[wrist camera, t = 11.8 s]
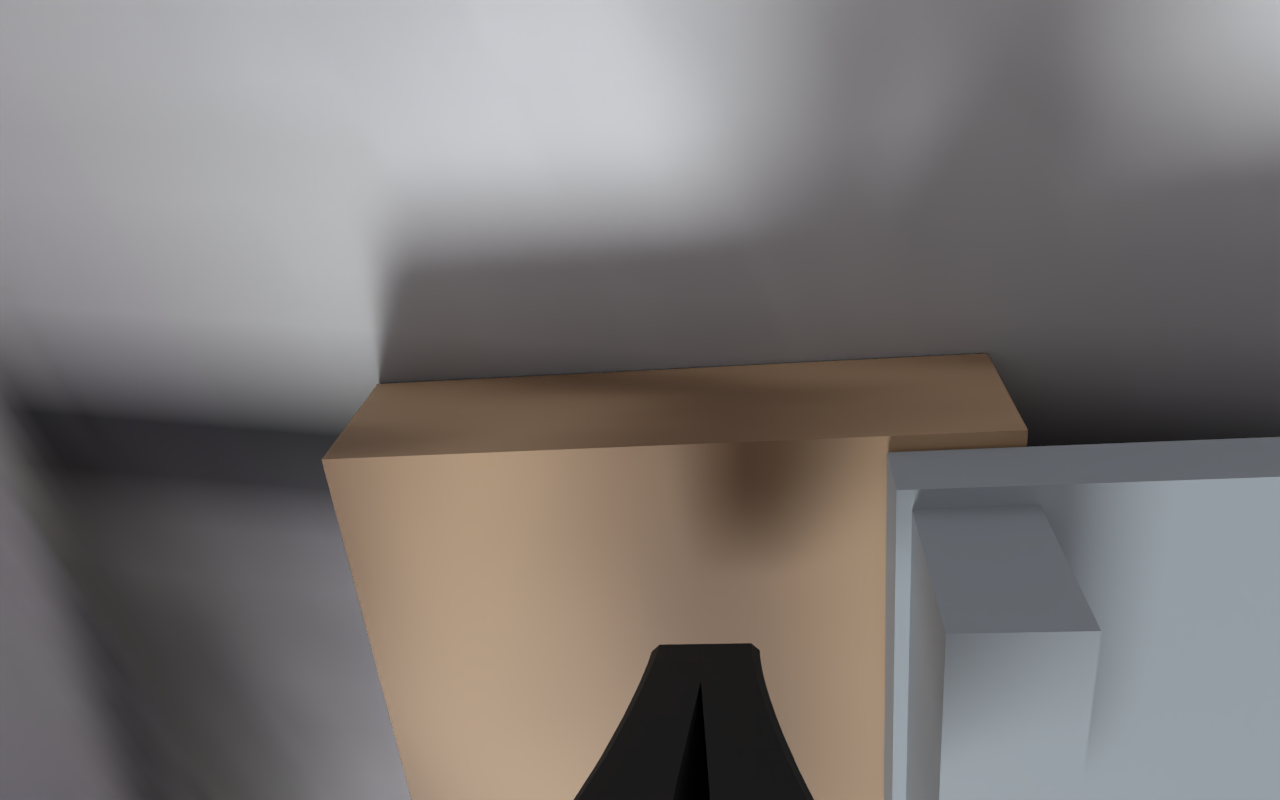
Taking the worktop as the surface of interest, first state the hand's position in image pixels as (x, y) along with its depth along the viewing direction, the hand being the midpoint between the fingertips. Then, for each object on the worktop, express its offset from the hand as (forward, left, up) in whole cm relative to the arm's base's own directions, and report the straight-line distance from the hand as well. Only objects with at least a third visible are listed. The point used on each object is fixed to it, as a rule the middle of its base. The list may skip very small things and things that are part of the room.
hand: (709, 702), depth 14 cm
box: (-1, -1, -5) cm, 5 cm away
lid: (+8, -1, -2) cm, 8 cm away
